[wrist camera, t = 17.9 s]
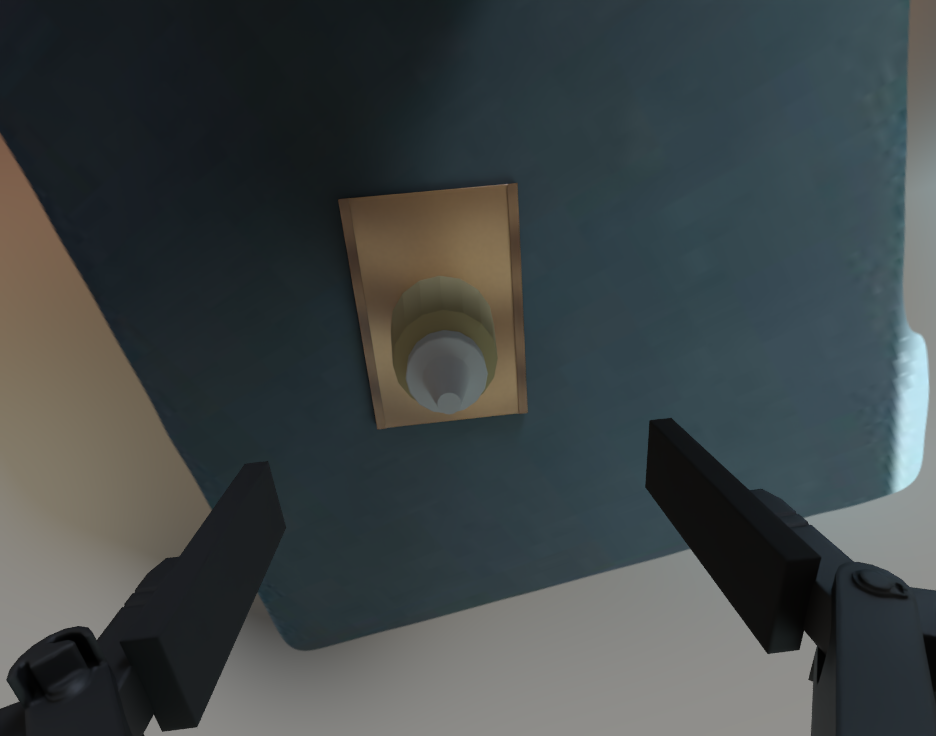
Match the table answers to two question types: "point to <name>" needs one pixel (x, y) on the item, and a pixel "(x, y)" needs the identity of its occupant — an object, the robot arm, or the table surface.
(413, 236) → the brown flat rectangular board
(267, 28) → the table surface
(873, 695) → the robot arm
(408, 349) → the squeeze bottle
